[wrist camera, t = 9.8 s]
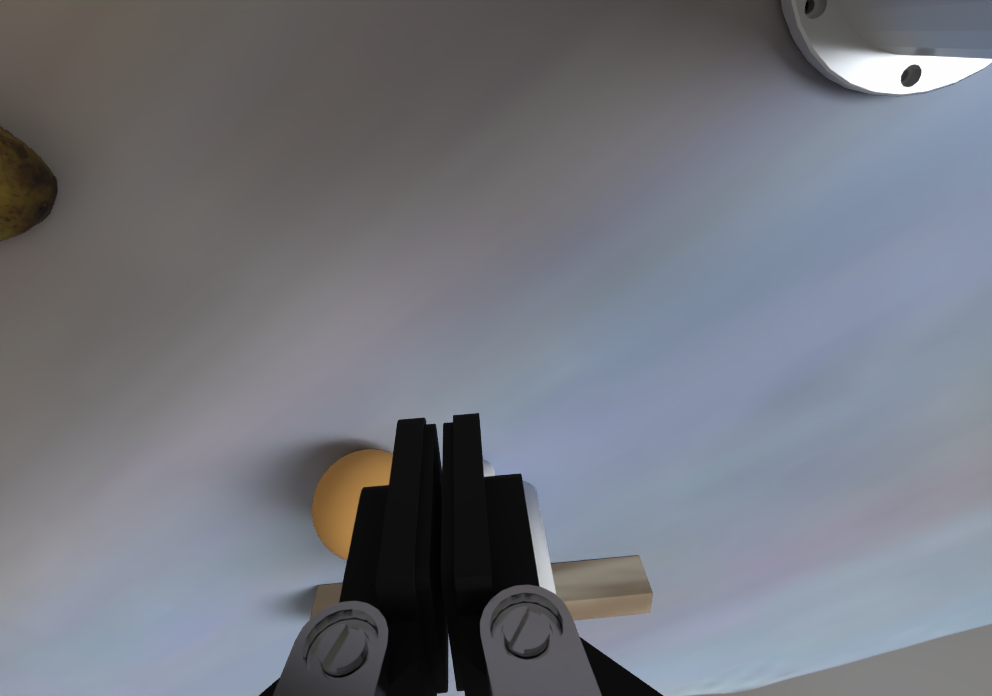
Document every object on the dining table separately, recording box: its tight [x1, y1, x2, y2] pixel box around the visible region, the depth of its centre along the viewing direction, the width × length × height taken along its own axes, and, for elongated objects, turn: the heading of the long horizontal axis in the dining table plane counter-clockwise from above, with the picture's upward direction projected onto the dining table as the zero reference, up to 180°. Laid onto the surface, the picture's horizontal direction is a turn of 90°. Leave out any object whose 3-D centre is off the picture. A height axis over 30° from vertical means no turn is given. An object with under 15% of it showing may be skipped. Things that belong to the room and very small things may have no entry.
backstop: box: [310, 556, 653, 620], centre depth 38 cm, size 2×22×3 cm, turn 93°
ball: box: [312, 449, 393, 560], centre depth 31 cm, size 6×6×6 cm
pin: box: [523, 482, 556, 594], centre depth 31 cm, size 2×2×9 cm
